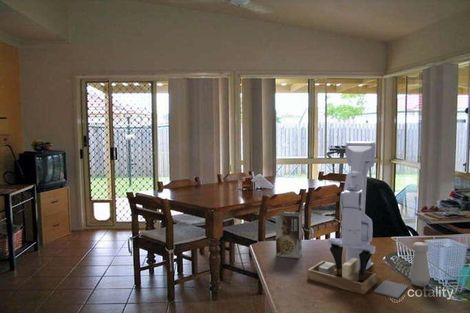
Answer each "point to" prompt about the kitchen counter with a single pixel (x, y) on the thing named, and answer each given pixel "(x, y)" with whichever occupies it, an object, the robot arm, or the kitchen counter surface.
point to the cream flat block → (351, 270)
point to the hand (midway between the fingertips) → (350, 271)
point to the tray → (342, 279)
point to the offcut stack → (328, 268)
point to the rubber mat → (391, 289)
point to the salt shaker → (420, 265)
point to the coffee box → (289, 234)
